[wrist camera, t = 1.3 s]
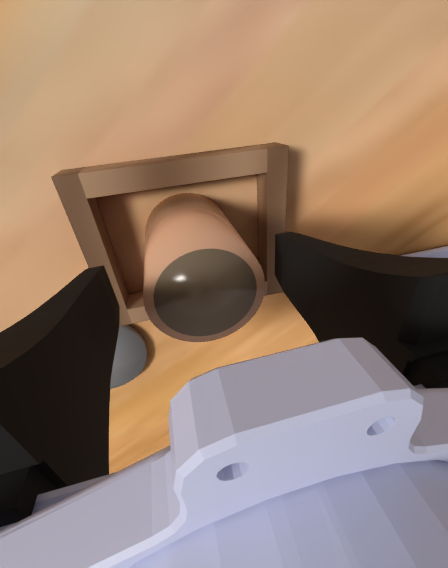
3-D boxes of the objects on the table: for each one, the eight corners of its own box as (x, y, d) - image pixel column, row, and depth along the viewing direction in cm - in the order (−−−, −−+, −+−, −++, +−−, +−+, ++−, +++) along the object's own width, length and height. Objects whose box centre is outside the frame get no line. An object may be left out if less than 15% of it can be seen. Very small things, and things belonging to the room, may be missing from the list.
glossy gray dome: (133, 307, 17) (133, 312, 16) (155, 372, 20) (155, 377, 19) (27, 329, 16) (24, 335, 15) (69, 393, 19) (67, 399, 19)
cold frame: (275, 142, 13) (288, 145, 12) (273, 279, 18) (282, 291, 17) (61, 170, 12) (51, 177, 11) (116, 311, 16) (113, 327, 15)
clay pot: (224, 186, 14) (265, 228, 9) (230, 263, 16) (265, 329, 12) (135, 200, 13) (127, 252, 8) (155, 277, 16) (158, 353, 11)
